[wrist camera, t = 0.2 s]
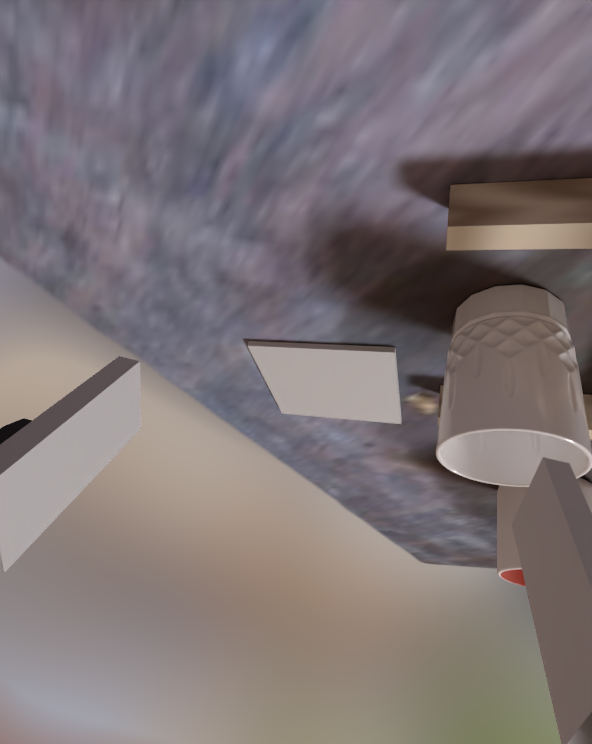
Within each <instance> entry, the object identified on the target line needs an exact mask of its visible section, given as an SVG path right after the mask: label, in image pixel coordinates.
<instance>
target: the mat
mask: <svg viewBox="0 0 592 744" xmlns="http://www.w3.org/2000/svg"><path fill="white" fill-rule="evenodd" d="M247 346H248V348H249V350H250V352H251V354H252V356H253V358H254V360H255V362H256V364H257V366H258V367H259V369H260V371H261V373H262V375H263V377H264V379H265V381H266V383H267V385H268V387H269V389H270V391H271V393H272V395H273V397H274V399H275V401H276V402H277V404H278V406H279V408H280V410H281V412H282V413H283V414H295V415H306V416H318V417H329V418H340V419H352V420H363V421H374V422H386V423H397V424H401V420H402V418H401V407H400V395H399V384H398V372H397V360H396V349H395V347H379V346H356V345H333V344H310V343H287V342H264V341H249V342H248V345H247Z"/></svg>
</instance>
